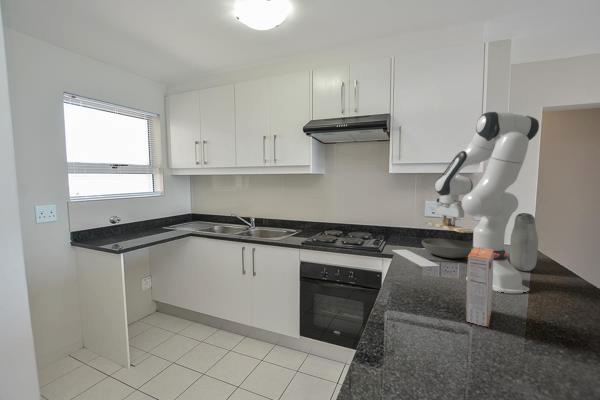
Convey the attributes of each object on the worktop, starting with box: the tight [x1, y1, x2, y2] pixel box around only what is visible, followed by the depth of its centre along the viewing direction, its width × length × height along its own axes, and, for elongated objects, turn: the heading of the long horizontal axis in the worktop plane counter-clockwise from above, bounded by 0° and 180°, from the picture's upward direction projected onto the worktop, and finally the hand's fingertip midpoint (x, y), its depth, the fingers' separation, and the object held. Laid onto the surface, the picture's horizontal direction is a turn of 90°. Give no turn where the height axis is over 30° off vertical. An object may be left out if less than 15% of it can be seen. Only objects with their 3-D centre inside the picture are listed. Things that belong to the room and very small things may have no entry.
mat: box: [391, 249, 440, 267], centre depth 154 cm, size 34×10×1 cm, turn 7°
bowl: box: [421, 238, 473, 260], centre depth 156 cm, size 27×28×8 cm
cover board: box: [425, 217, 474, 234], centre depth 155 cm, size 33×8×5 cm, turn 7°
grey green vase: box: [509, 212, 539, 272], centre depth 131 cm, size 10×10×28 cm
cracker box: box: [465, 247, 494, 328], centre depth 85 cm, size 14×6×21 cm, turn 141°
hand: (448, 223), depth 155 cm, fingers closed on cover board, 4 cm apart
